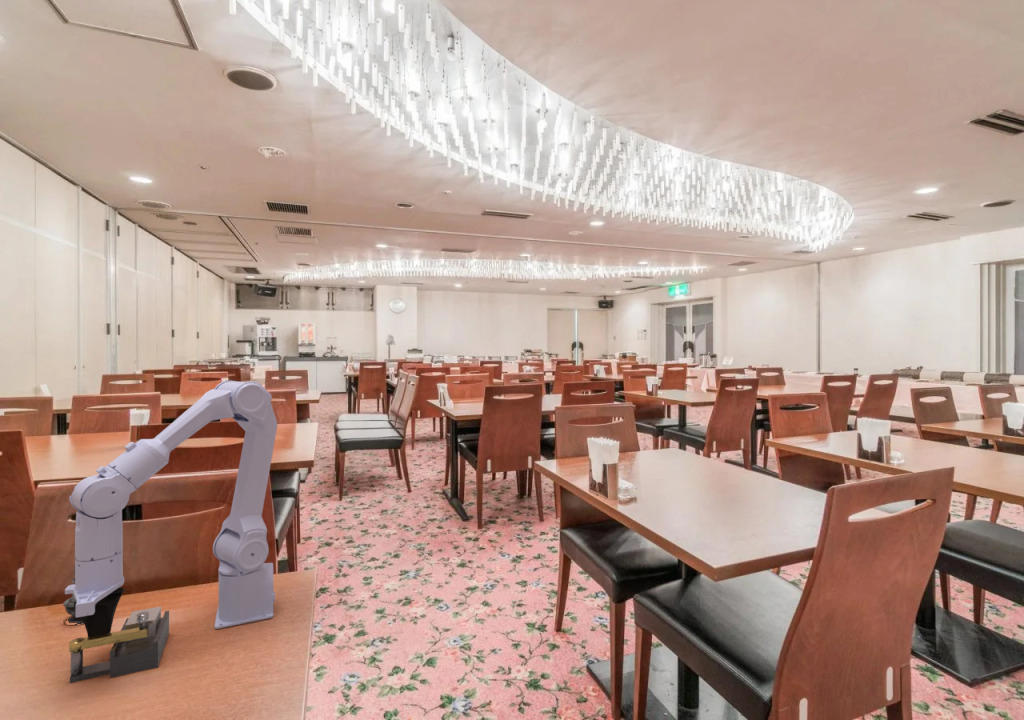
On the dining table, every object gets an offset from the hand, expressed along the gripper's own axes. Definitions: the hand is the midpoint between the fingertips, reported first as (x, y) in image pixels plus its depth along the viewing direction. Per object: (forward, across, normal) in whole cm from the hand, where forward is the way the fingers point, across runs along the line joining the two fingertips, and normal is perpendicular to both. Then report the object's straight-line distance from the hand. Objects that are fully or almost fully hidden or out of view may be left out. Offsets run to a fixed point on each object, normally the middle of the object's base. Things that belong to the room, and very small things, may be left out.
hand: (99, 642), depth 78 cm
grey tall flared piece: (+5, -21, -7) cm, 23 cm away
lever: (0, +1, +2) cm, 2 cm away
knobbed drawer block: (+1, -4, +5) cm, 6 cm away
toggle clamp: (+4, -2, +2) cm, 5 cm away
